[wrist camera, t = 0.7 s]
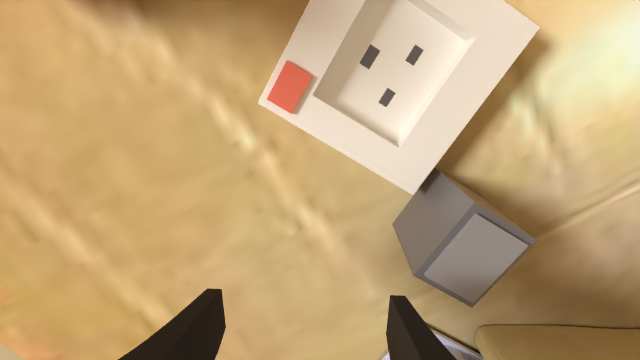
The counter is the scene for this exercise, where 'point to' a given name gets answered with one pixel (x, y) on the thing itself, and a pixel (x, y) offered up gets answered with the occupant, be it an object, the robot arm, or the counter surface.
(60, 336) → the counter surface
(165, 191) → the counter surface
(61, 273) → the counter surface
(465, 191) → the plug
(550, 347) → the tan rectangular block
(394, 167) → the socket plate
